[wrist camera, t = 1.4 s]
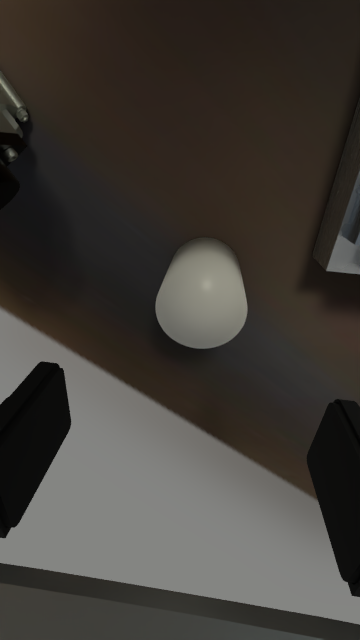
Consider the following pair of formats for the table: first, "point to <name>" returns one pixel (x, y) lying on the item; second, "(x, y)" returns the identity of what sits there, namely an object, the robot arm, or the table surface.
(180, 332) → the white rounded cylinder
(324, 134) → the table surface
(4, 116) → the pneumatic valve
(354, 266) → the grey fixture tray
